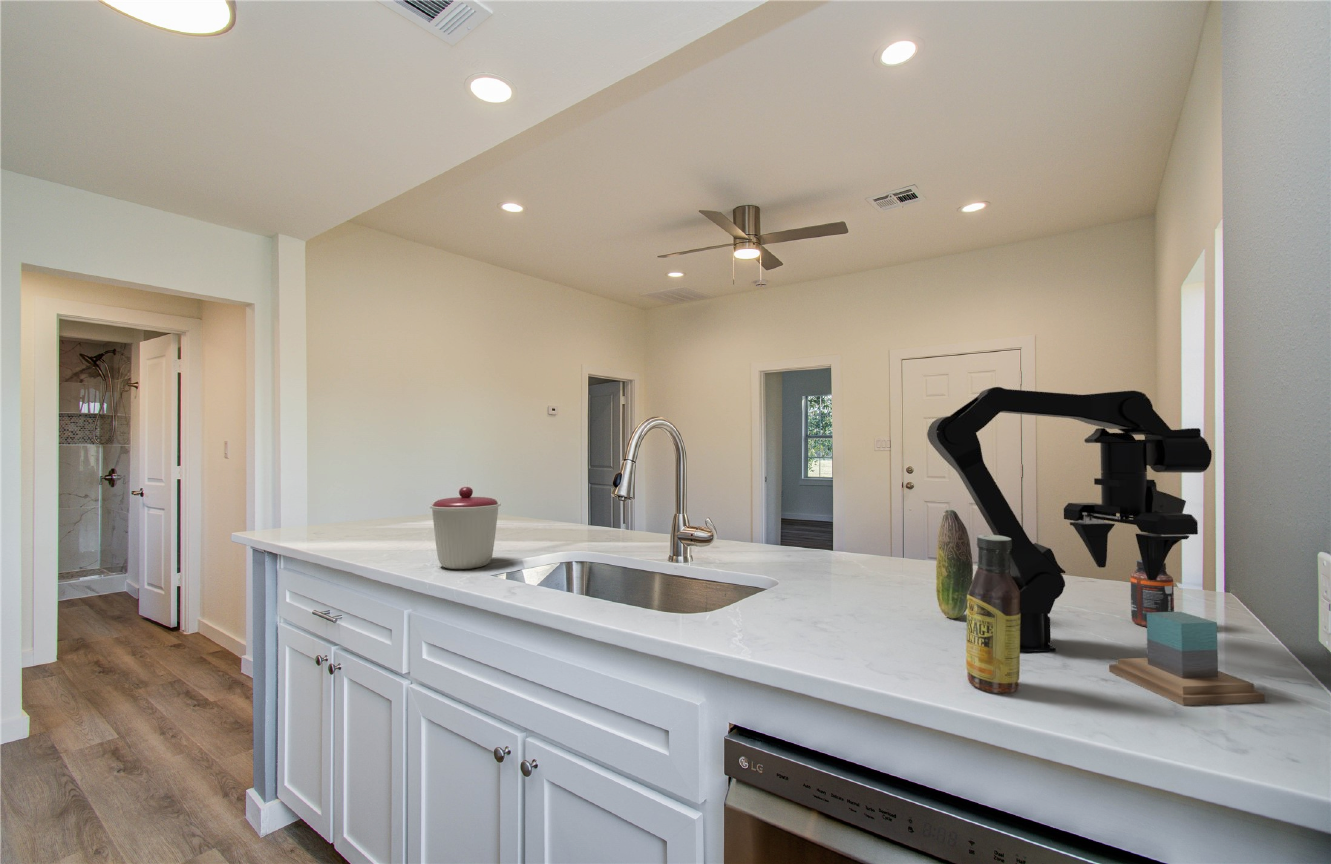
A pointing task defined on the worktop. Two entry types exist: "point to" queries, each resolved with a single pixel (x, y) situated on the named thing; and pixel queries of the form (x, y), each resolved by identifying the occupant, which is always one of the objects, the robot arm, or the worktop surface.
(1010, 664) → the sauce bottle
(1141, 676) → the walnut stand
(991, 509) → the robot arm
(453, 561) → the canister
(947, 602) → the vegetable
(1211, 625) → the teal and grey block
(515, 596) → the worktop surface
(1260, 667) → the worktop surface
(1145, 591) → the supplement bottle
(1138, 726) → the worktop surface
